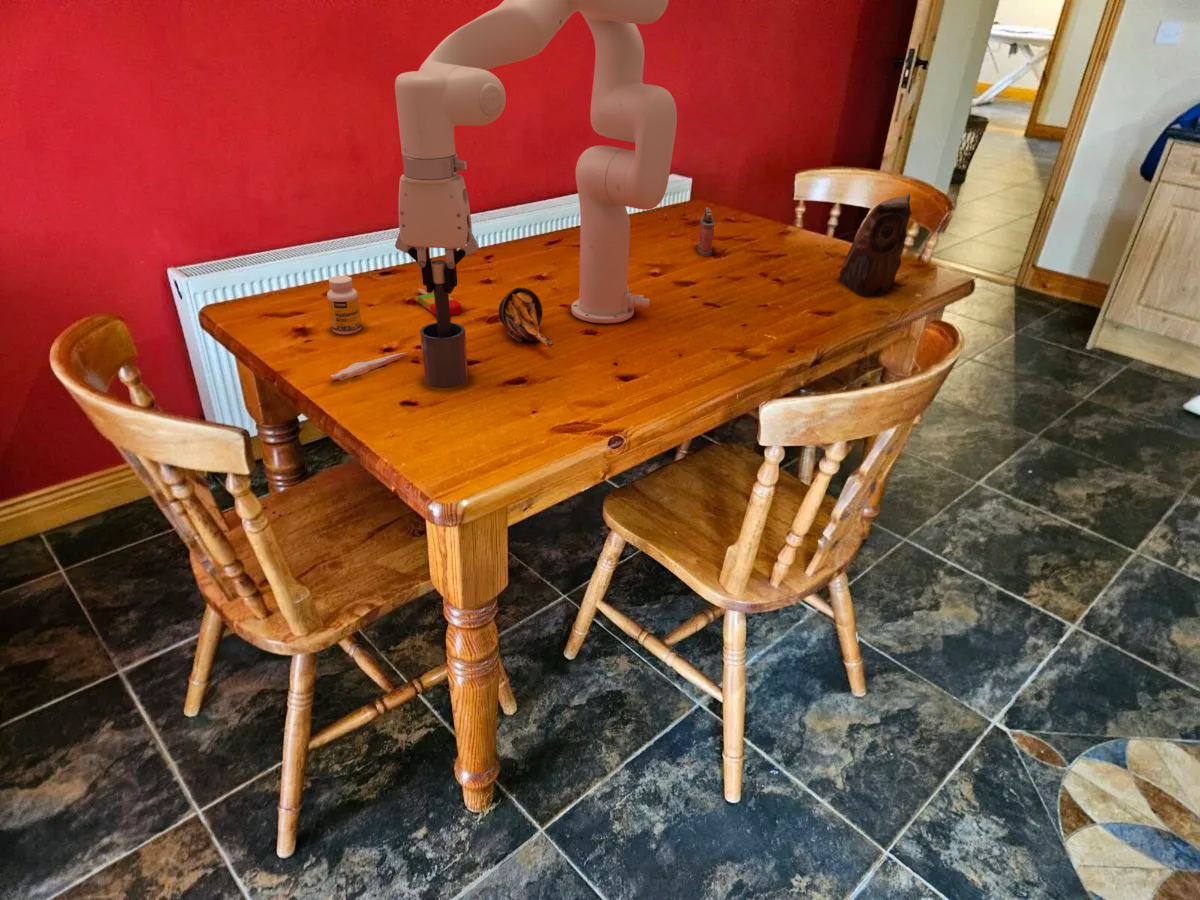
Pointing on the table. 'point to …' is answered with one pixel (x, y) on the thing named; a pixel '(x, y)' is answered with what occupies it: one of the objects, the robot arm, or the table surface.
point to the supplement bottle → (343, 306)
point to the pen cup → (444, 356)
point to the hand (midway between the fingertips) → (440, 289)
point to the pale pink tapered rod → (365, 366)
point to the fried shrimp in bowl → (523, 315)
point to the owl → (877, 249)
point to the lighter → (706, 233)
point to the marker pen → (441, 299)
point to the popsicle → (429, 303)
